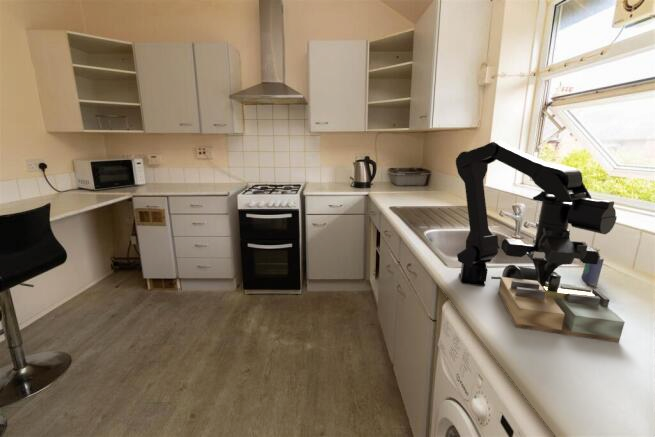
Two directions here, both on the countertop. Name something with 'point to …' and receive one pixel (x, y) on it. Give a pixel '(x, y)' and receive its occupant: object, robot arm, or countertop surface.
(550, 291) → the bolt
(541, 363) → the countertop surface
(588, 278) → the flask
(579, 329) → the frame
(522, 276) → the drinking cup
